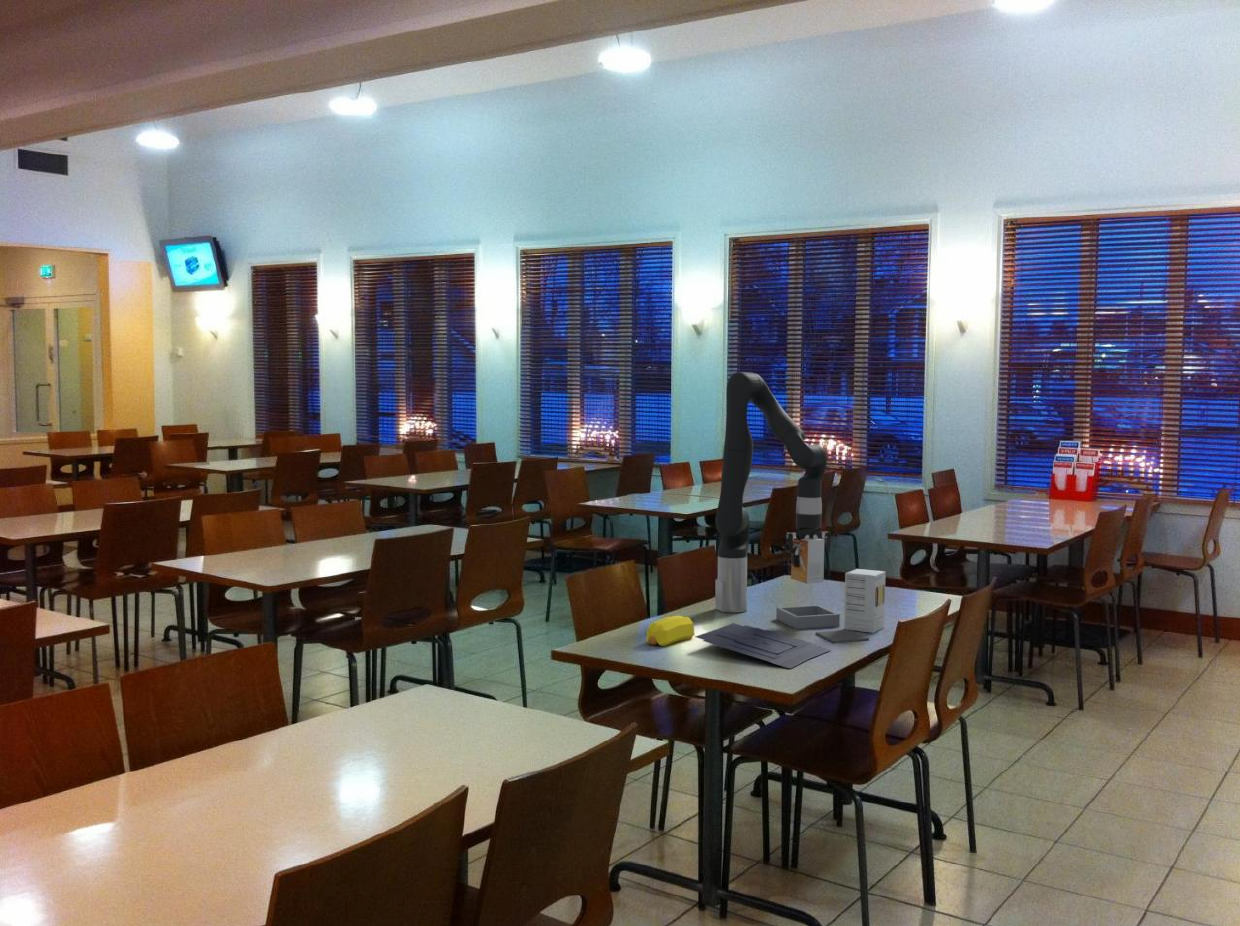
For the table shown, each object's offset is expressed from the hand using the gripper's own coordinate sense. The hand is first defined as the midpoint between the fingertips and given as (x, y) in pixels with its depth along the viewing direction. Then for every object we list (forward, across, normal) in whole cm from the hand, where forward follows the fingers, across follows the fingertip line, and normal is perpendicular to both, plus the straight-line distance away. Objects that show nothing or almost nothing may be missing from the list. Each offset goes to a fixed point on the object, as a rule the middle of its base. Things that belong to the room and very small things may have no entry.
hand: (807, 566), depth 328 cm
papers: (+17, -27, -29) cm, 43 cm away
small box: (+5, 0, 0) cm, 5 cm away
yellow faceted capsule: (+18, -46, -10) cm, 51 cm away
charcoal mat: (+17, +2, -20) cm, 26 cm away
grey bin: (+17, 0, 0) cm, 17 cm away
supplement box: (+17, +13, -12) cm, 25 cm away
